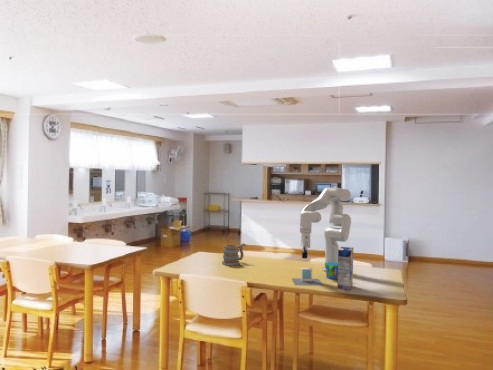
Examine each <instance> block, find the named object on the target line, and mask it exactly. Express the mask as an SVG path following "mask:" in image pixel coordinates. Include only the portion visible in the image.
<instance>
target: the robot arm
mask: <svg viewBox="0 0 493 370" xmlns="http://www.w3.org/2000/svg"><path fill="white" fill-rule="evenodd" d="M351 196H352V194H351V191H350V190H349V189H348V188H347V189H346V188H341V187H325V188H324V189H323V190H322V191H321V193H320V195H319V196H318V197H317V199H316V200H313V201H312V202H310V203H307V205H306V206H304V208H303V209H302V211H301V212H300V216H299V218H300V222H299V225H300V226H299V233H300V235H301V236H300V246H301V249H302V251H301V257H302V259H308V249H310V248H311V234H312V224H313V223H315V224H317V223H319V222H320V221H321V220H322V215H321V213H320V212H318V211H321V210H324V209H326V208H327V207H328V206H329V204H330V205H331V208H330V209H331V210H330V214H329V220H328V222H329V225H330V226H331V227H326V228H325V229H324V234H323V235H324V240H325V248H324V249H325V251H324V253H325V254H324V264H325V263H327V262H335V263H338V250H339V249H340V247H339V243H338V242H341V243H342V242H343V243H344V242H347V240H349V235H350V231H351V224H352V217H351V215H350V214H347V213H343V211H344V206H343V205H344V204H342V202H347V201H349V200H350V199H351ZM322 271H324V272H326V269H325V266H324V267H322Z"/></svg>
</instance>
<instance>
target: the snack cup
mask: <svg viewBox="0 0 493 370" xmlns="http://www.w3.org/2000/svg"><path fill="white" fill-rule="evenodd" d="M324 267H325V269H326V271H325V276H326V279H329V280H338V263H335V262H327V263H325V262H324Z"/></svg>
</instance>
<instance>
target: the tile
mask: <svg viewBox="0 0 493 370" xmlns="http://www.w3.org/2000/svg"><path fill="white" fill-rule="evenodd" d="M300 278H301V281H312V279H313V267H301V268H300Z"/></svg>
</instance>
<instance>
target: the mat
mask: <svg viewBox="0 0 493 370" xmlns="http://www.w3.org/2000/svg"><path fill="white" fill-rule="evenodd" d="M291 281H292V282H293V284H294V286H307V287H311V286H316V287H317V286H318V287H324V286H325V285H324V284H323V282H322V281H321V280H320V279H319V278H312V281H301V277H300V278H295V277H294V278H293V277H292V278H291Z"/></svg>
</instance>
